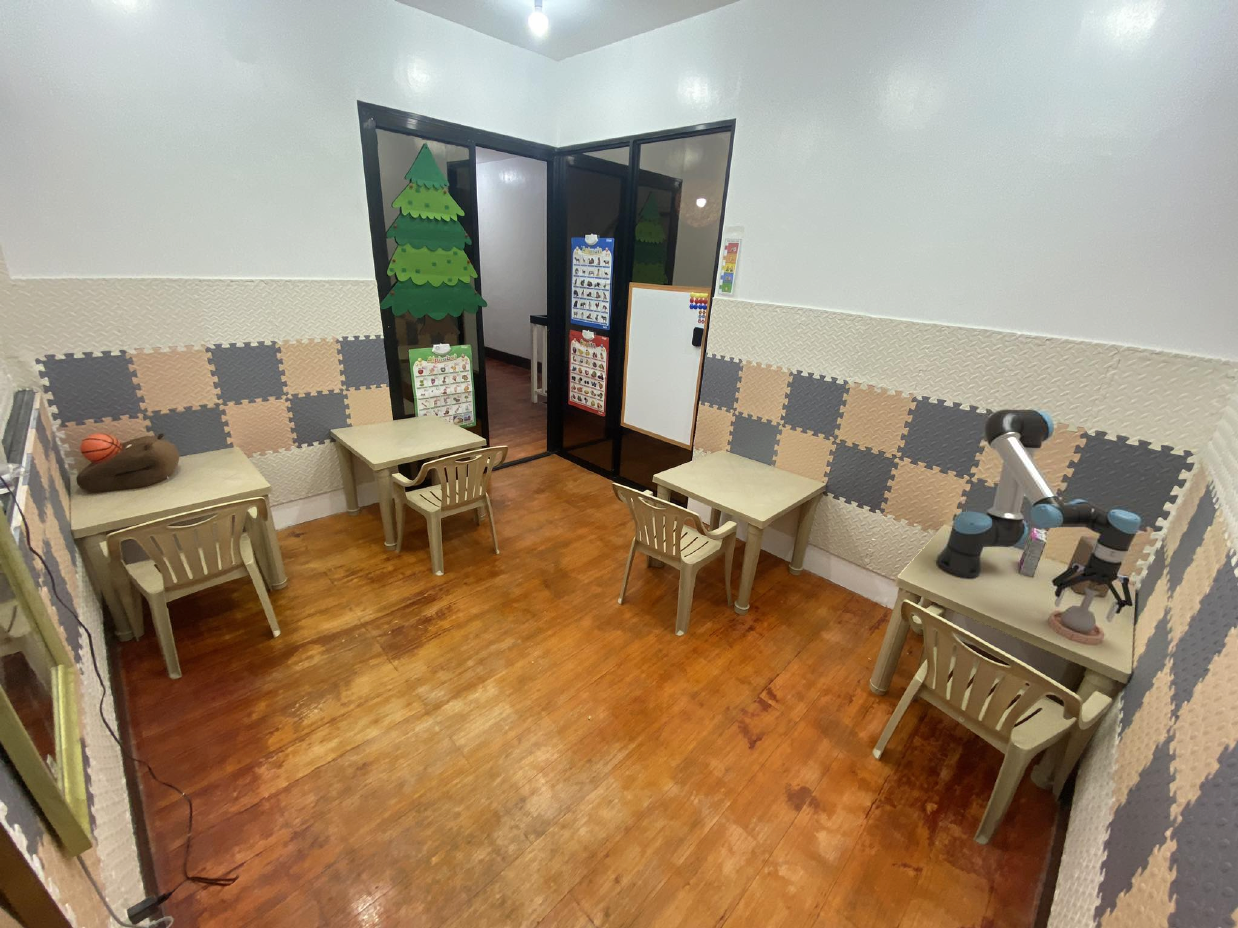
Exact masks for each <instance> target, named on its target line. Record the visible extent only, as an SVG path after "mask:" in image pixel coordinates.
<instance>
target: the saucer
mask: <svg viewBox="0 0 1238 928" xmlns="http://www.w3.org/2000/svg"><path fill="white" fill-rule="evenodd" d="M1064 611H1065V610H1054V611H1052V612H1050V613H1049V615H1048V617H1047V623H1048V625H1049V626H1050V628H1052V629H1053V630H1054V631H1055V632H1056V633H1057V634H1059V635H1061V636H1063V637H1065V638H1067V639H1069V640H1072V641H1074V642H1078V643H1081V644H1084V645H1085V644H1086V645H1099V644H1100V643H1102V641H1103V639H1104V638H1105V636H1106V634H1105V632H1104V630H1103V628H1102V627H1100V626H1099V625H1098V624H1097V623H1096V626H1095V628H1094V629H1093V630H1092V631H1091V632H1088V634H1085V635H1083V634H1079V633H1076V632H1073V631H1071V630H1069V629H1067V628H1065V627H1064V626H1063V625H1062V623H1063V622H1062V620H1061V614H1062V613H1063V612H1064Z"/></svg>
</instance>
